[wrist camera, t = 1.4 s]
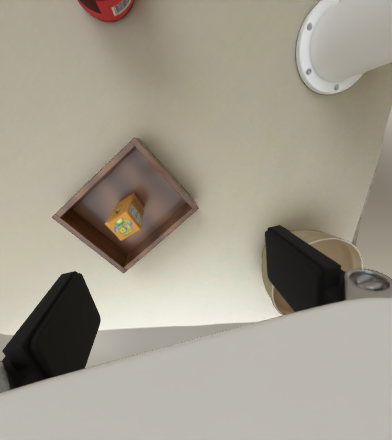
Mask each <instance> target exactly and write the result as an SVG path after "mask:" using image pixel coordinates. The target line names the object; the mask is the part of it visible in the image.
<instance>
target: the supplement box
mask: <svg viewBox="0 0 392 440" xmlns="http://www.w3.org/2000/svg"><path fill="white" fill-rule="evenodd" d="M143 213H144V205H143V204H142V202H141V201H140V200H139V198H138V197H137V195H136V194H135V193H132V194H130V195H128V196H127V197H125V198H123V199H122V200H120V201H119V202H118V203H117V205H116V206H115V208H114V209H113V211H112V213H111V214H110V216H109V218H108V219H107V221H106V223H105V225H106V226H107V227H108V228H109V229H110V230H111V231H112V232H113V233H114V234H115V235H116V236H117V237H118V238H119V239H120V240H121V241H122V240H124V239H125V238H127V237H129V236H131V235H132V234H134V233H136V232H137V231H139V230H141V225H142V219H143Z"/></svg>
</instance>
